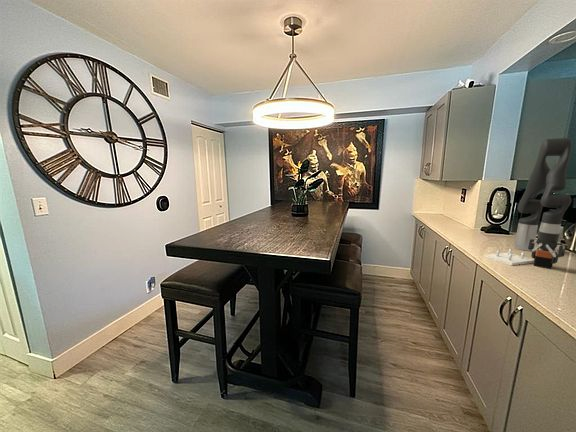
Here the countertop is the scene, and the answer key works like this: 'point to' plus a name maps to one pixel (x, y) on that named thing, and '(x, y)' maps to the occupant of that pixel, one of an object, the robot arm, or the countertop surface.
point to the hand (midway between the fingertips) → (543, 260)
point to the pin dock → (510, 258)
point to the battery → (543, 259)
